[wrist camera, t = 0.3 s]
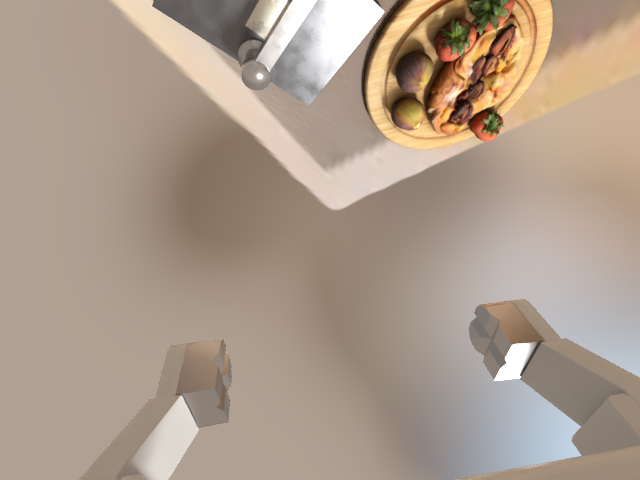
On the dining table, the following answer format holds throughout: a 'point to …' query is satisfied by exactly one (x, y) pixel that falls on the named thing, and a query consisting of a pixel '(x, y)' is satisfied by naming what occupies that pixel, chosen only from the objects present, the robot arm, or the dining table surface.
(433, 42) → the wooden plate with food
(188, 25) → the board
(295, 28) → the swing bar
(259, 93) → the dining table surface
